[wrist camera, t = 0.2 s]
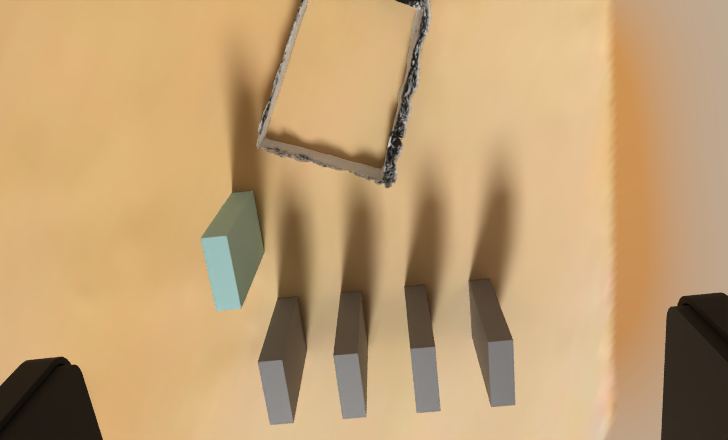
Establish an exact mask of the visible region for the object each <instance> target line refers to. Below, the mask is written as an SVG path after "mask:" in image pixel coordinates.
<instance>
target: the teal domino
mask: <svg viewBox="0 0 728 440" xmlns="http://www.w3.org/2000/svg"><path fill="white" fill-rule="evenodd" d="M201 242H202V247H203V251H204V256H205V261H206V265H207V270H208V275H209V279H210V284H211V288H212V293H213V298H214V302H215V307H216V311H222V310H233V309H241V308H242V305H243V303H244V301H245V298H246V296H247V293H248V291H249V288H250V286H251V284H252V281H253V279H254V276H255V274H256V271H257V269H258V267H259V264H260V262H261V259H262V257H263V254H264V248H263V242H262V237H261V231H260V226H259V220H258V214H257V209H256V203H255V198H254V192H253V191H243V192H234V193H231V195H230V196H229V198H228V199H227V201H226V202H225V204H224V205H223V206H222V208H221V209H220V211H219V212H218V214H217V215H216V217H215V218H214V220H213V221H212V223H211V224H210V225H209V227H208V228H207V230H206V231H205V233H204V234H203V236H202V237H201Z"/></svg>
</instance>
